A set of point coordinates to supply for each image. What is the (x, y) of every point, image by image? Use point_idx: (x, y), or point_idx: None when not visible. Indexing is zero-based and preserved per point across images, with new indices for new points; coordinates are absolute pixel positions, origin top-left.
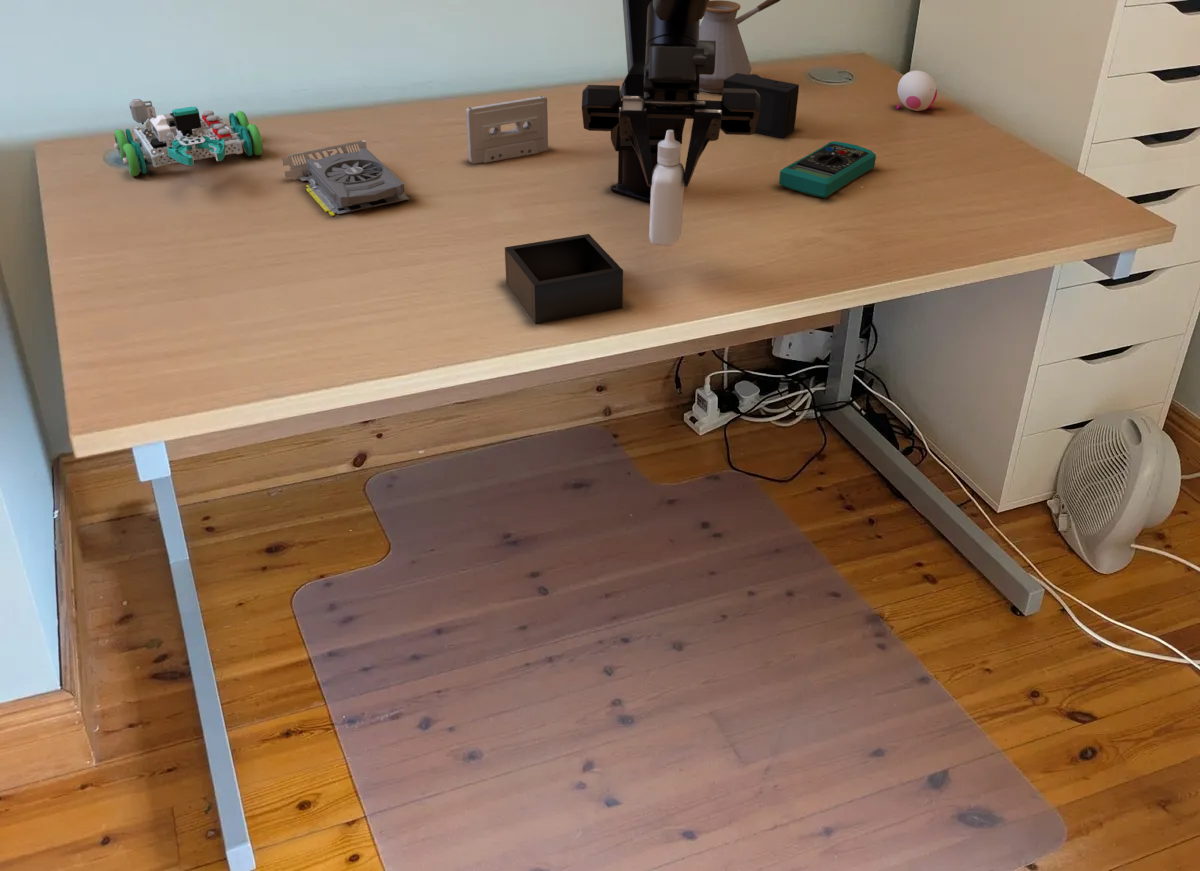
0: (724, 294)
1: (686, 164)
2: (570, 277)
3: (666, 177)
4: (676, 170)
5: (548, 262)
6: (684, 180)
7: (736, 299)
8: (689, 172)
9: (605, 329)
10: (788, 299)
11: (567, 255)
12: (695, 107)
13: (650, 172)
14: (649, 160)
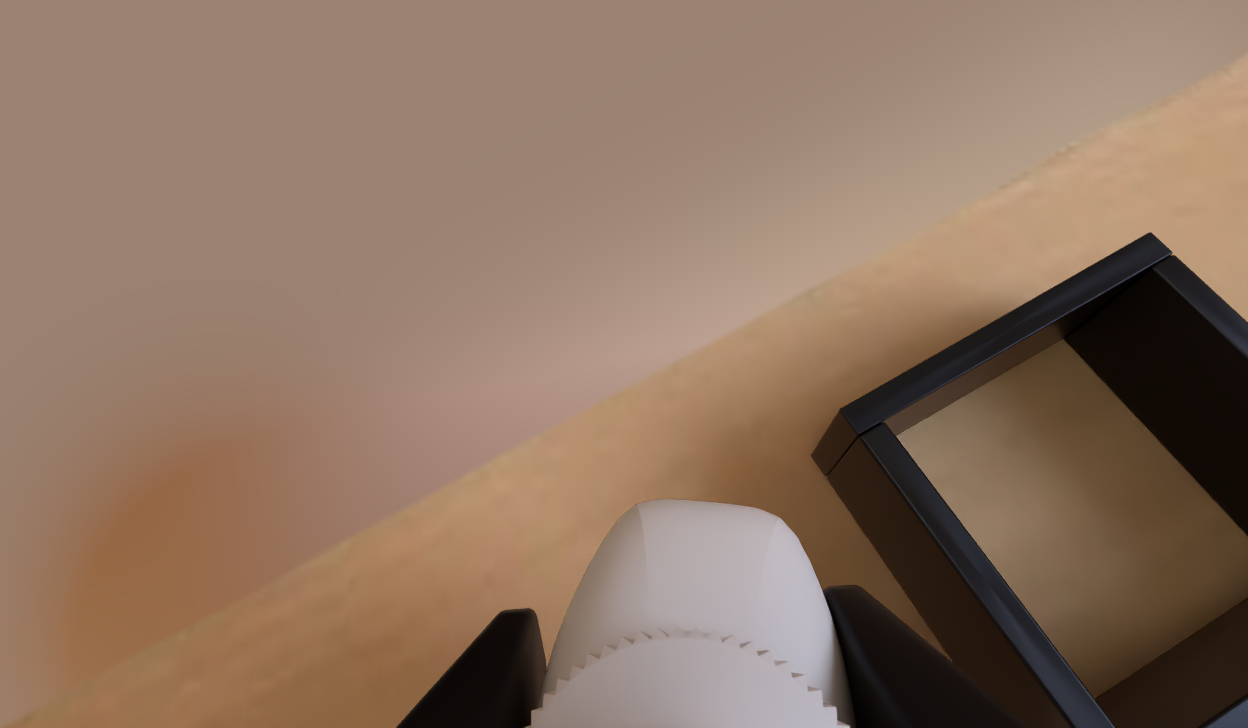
0: (460, 615)
1: (478, 720)
2: (1037, 312)
3: (686, 525)
4: (594, 642)
5: (1229, 651)
6: (529, 623)
7: (421, 579)
8: (467, 666)
9: (834, 314)
10: (243, 605)
11: (1167, 700)
12: None
13: (863, 637)
14: (927, 714)
